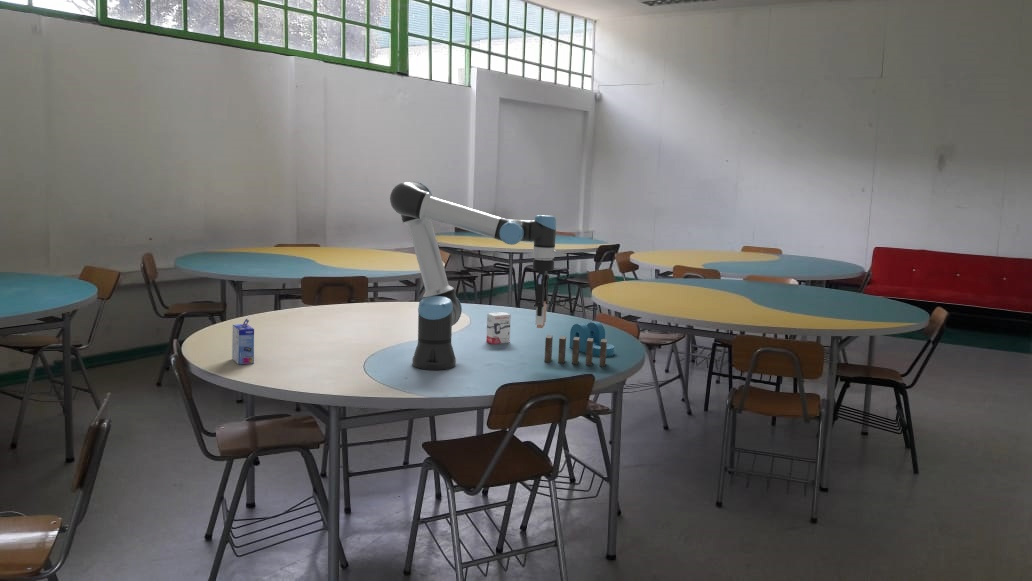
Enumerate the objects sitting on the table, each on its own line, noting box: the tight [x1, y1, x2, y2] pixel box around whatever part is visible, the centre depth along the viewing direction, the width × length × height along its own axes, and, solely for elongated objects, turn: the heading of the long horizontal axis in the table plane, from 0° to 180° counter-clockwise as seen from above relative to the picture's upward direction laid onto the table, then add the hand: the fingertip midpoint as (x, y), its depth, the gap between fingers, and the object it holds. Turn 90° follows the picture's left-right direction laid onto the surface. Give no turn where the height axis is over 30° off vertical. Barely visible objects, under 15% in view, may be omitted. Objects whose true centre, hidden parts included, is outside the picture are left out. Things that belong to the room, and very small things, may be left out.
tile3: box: [557, 335, 567, 364], centre depth 276 cm, size 2×5×9 cm, turn 171°
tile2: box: [544, 334, 554, 363], centre depth 276 cm, size 2×5×9 cm, turn 171°
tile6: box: [599, 338, 608, 368], centre depth 273 cm, size 2×5×9 cm, turn 171°
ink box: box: [485, 311, 512, 345], centre depth 303 cm, size 8×5×12 cm, turn 123°
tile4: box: [571, 337, 580, 365], centre depth 275 cm, size 2×5×9 cm, turn 171°
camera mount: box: [569, 321, 615, 357], centre depth 295 cm, size 18×10×10 cm, turn 34°
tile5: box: [585, 338, 593, 366], centre depth 274 cm, size 2×5×9 cm, turn 171°
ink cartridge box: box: [231, 318, 255, 365], centre depth 257 cm, size 10×6×14 cm, turn 33°
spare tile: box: [536, 301, 546, 329], centre depth 270 cm, size 2×5×9 cm, turn 169°
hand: (540, 323), depth 271 cm, fingers closed on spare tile, 5 cm apart
